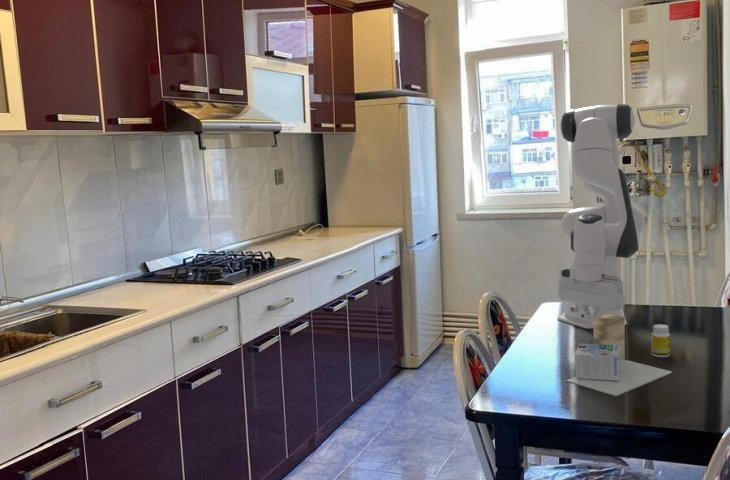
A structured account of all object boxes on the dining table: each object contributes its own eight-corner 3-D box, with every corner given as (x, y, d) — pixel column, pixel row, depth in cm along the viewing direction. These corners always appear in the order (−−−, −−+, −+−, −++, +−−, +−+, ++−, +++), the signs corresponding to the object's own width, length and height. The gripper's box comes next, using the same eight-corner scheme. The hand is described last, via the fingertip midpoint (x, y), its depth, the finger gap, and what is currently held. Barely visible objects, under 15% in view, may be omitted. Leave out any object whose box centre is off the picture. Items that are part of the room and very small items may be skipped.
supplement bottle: (671, 357, 188) (671, 328, 187) (653, 357, 189) (653, 328, 188) (667, 352, 193) (667, 323, 192) (650, 352, 194) (650, 323, 193)
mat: (566, 381, 175) (566, 380, 175) (623, 360, 188) (623, 359, 188) (616, 396, 163) (616, 395, 163) (672, 372, 177) (672, 371, 177)
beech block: (593, 360, 190) (593, 318, 188) (609, 354, 194) (608, 313, 192) (609, 364, 186) (609, 321, 184) (624, 358, 190) (624, 317, 188)
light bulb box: (577, 342, 184) (620, 344, 180) (578, 366, 185) (620, 368, 181) (574, 354, 174) (619, 356, 170) (575, 379, 175) (620, 382, 171)
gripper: (629, 275, 184) (629, 324, 186) (568, 266, 201) (569, 312, 203) (615, 278, 181) (615, 329, 183) (554, 270, 198) (555, 316, 200)
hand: (590, 320), depth 193 cm, fingers closed
